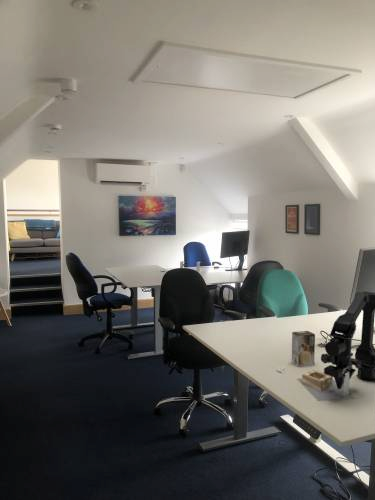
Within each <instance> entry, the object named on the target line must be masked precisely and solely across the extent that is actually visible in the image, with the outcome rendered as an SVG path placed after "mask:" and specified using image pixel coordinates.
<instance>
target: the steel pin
mask: <svg viewBox="0 0 375 500" xmlns="http://www.w3.org/2000/svg"><path fill="white" fill-rule="evenodd" d="M343 374H345V375H346V376H345V379H344V381H343V384H342V387H341V389H338V388H337V385H336V382H335V390H334V394H335V395H337V396H340V397H343V398H344V397H346V396H348V395H349V393H350V380H349V376H350V371H347V370H344V371H343Z"/></svg>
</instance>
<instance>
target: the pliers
mask: <svg viewBox="0 0 375 500" xmlns="http://www.w3.org/2000/svg"><path fill="white" fill-rule="evenodd" d="M276 372H277V373H281V375H285V367H284V366H283V367H282V368H280V367H279V366H276Z"/></svg>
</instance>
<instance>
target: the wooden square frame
mask: <svg viewBox="0 0 375 500" xmlns="http://www.w3.org/2000/svg"><path fill="white" fill-rule="evenodd" d="M301 376H302V378H301V379H302V384H304V385H307V386H309V387H312V388H315V389H317V390H320V391H321V390H323V389H325V388H327V387H329V386H331V385H332V379H333V378H334V377H332V376H329V375H326V374H324V372H322V371H319V370H316V369H313V370H311V371H308V372H306V373H303V374H302V375H301ZM302 384H301V385H302Z"/></svg>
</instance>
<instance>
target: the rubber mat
mask: <svg viewBox="0 0 375 500" xmlns="http://www.w3.org/2000/svg"><path fill="white" fill-rule="evenodd" d="M296 380H297V381H298V382H299V383H300V384H301V385H302V386H303V387H304V388H305V389H306V390H307V391H308V392H309V393H310V395H312V396H313V398H315V400H317V402H323V401H337V400H338V401H340V400H341V401H342V400H355V399H356V397H355V396H354V395H352V393H350V392H349V395H348V396H346V397H344V398H343V397H340V396H337V395H335V394H334V390H335V379H333V378H332V385H331V386H329V387H327V388H325V389H323V390H321V391H320V390H317V389H315V388H312V387H309V386H307V385H304V384H302V378H296Z"/></svg>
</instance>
